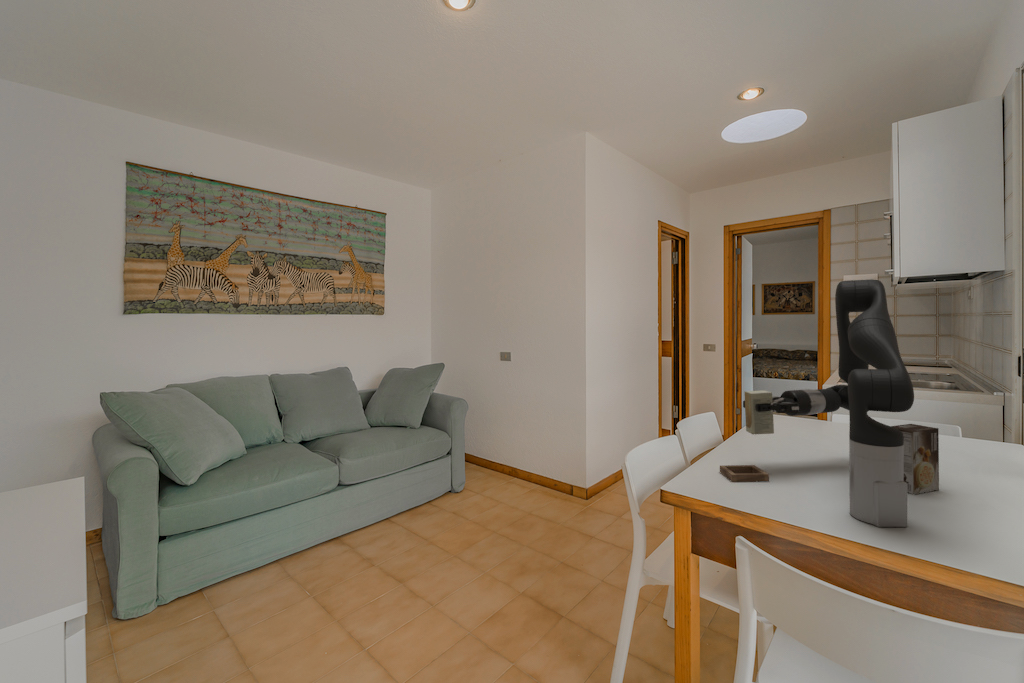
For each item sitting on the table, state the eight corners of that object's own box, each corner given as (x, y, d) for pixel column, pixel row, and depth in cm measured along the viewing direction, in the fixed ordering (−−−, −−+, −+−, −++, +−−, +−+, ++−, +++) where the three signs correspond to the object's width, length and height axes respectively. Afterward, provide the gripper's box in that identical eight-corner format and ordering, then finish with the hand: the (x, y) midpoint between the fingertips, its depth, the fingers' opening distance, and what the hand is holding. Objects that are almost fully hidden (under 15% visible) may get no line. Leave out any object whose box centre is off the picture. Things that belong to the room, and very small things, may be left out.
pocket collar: (769, 481, 120) (769, 474, 120) (732, 481, 120) (732, 474, 120) (754, 471, 128) (754, 465, 128) (719, 472, 128) (719, 465, 128)
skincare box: (766, 430, 129) (765, 389, 129) (774, 434, 125) (773, 392, 125) (744, 431, 130) (743, 390, 129) (751, 434, 126) (750, 393, 125)
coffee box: (910, 482, 116) (910, 423, 116) (939, 490, 110) (940, 428, 110) (885, 486, 114) (885, 426, 113) (914, 495, 108) (914, 431, 107)
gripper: (784, 386, 136) (734, 389, 134) (822, 393, 122) (767, 397, 120) (784, 410, 136) (734, 414, 134) (822, 419, 122) (767, 424, 120)
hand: (750, 406), depth 127 cm, fingers closed on skincare box, 5 cm apart
